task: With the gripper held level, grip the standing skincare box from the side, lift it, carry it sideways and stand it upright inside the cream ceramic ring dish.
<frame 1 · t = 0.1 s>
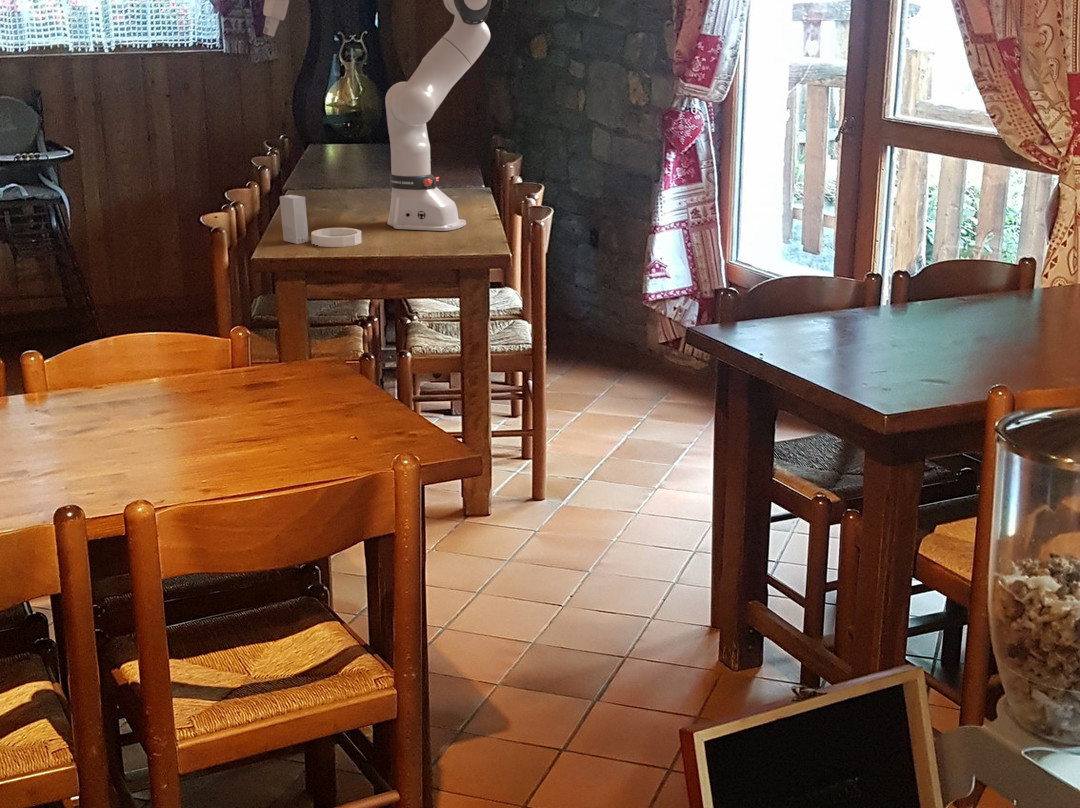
hand: (268, 35, 325), 52 cm above the table, tool tilted 20°, fingers open, 8 cm apart
ring dish: (336, 242, 327), on the table
skincare box: (295, 242, 327), on the table
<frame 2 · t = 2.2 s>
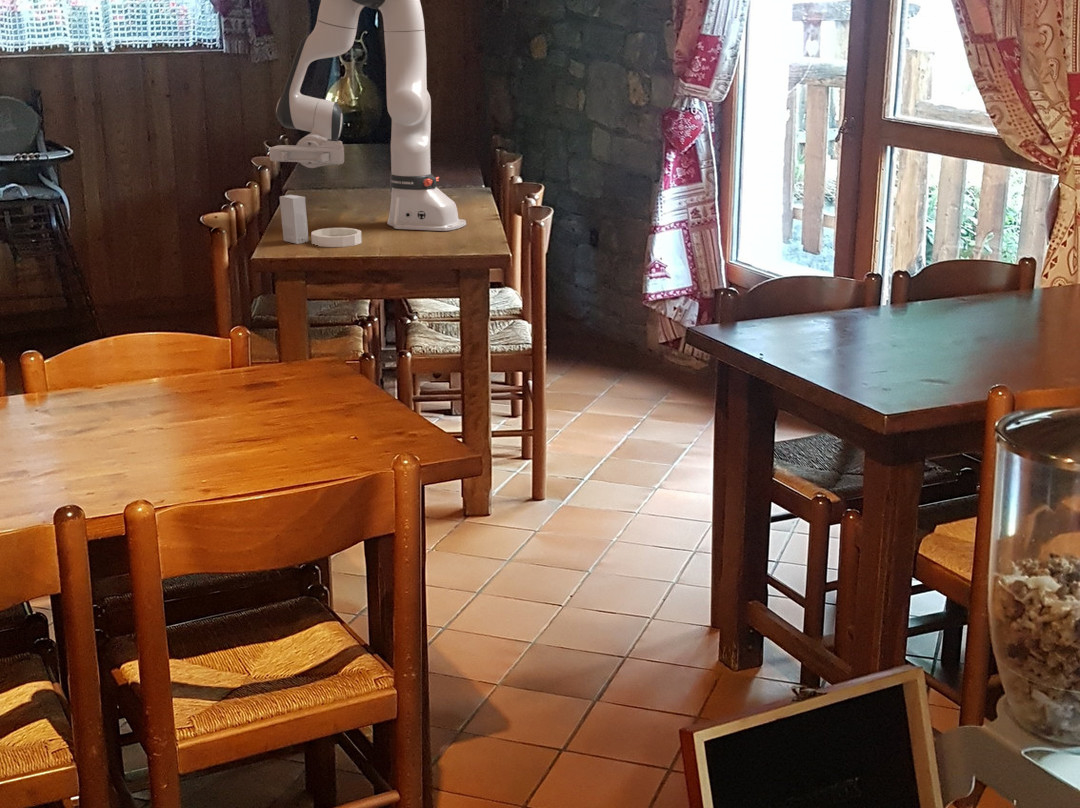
hand: (302, 158, 331), 20 cm above the table, tool horizontal, fingers open, 8 cm apart
nothing on the table moved.
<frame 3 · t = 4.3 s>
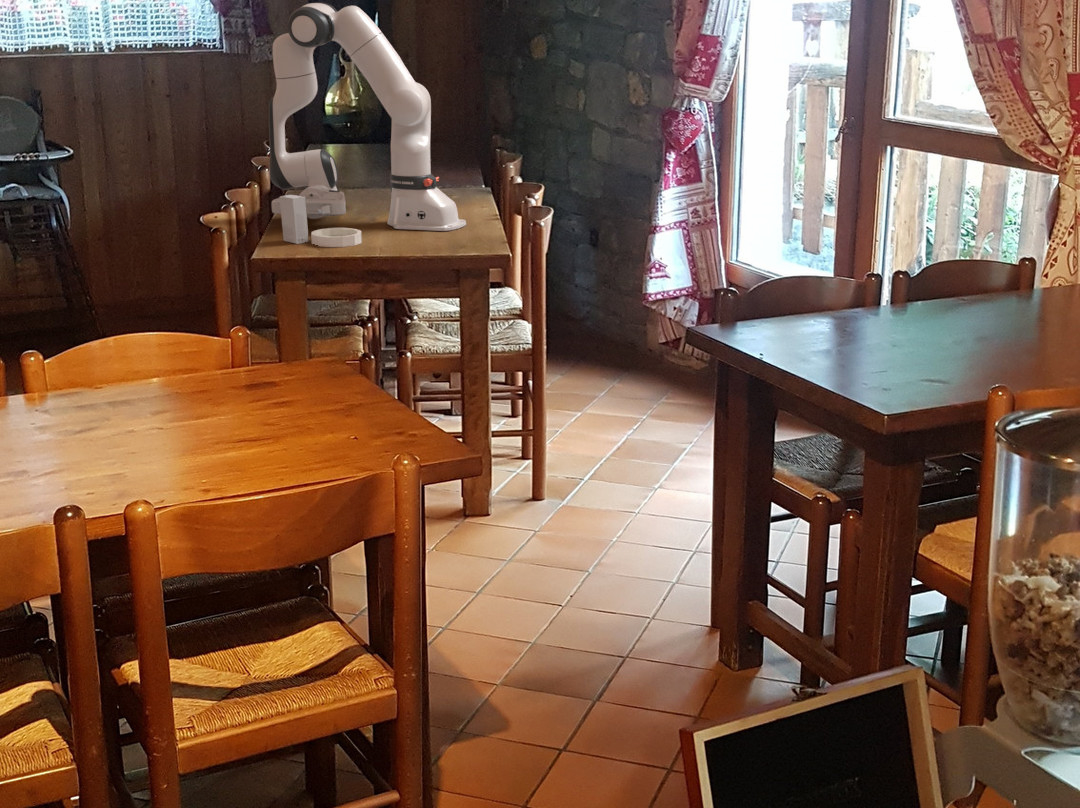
hand: (303, 211, 334), 6 cm above the table, tool horizontal, fingers open, 8 cm apart
nothing on the table moved.
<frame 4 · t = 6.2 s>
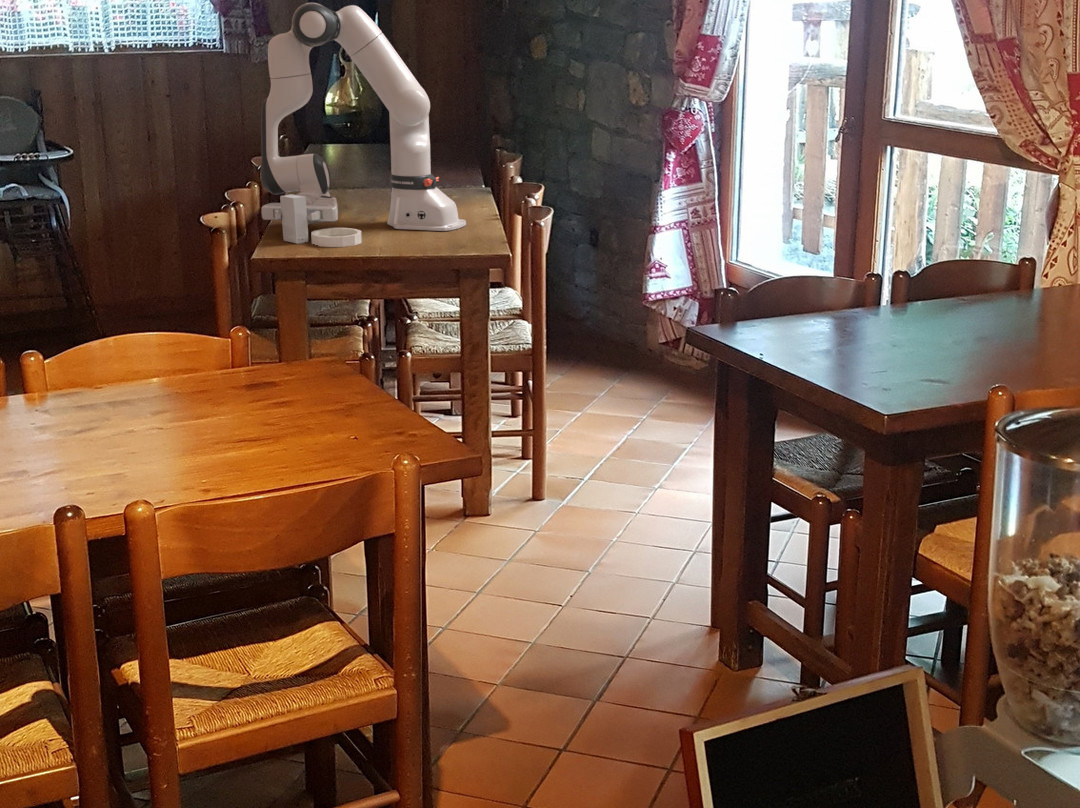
hand: (294, 217, 325), 7 cm above the table, tool horizontal, fingers open, 7 cm apart
skincare box: (295, 242, 327), on the table, touching gripper
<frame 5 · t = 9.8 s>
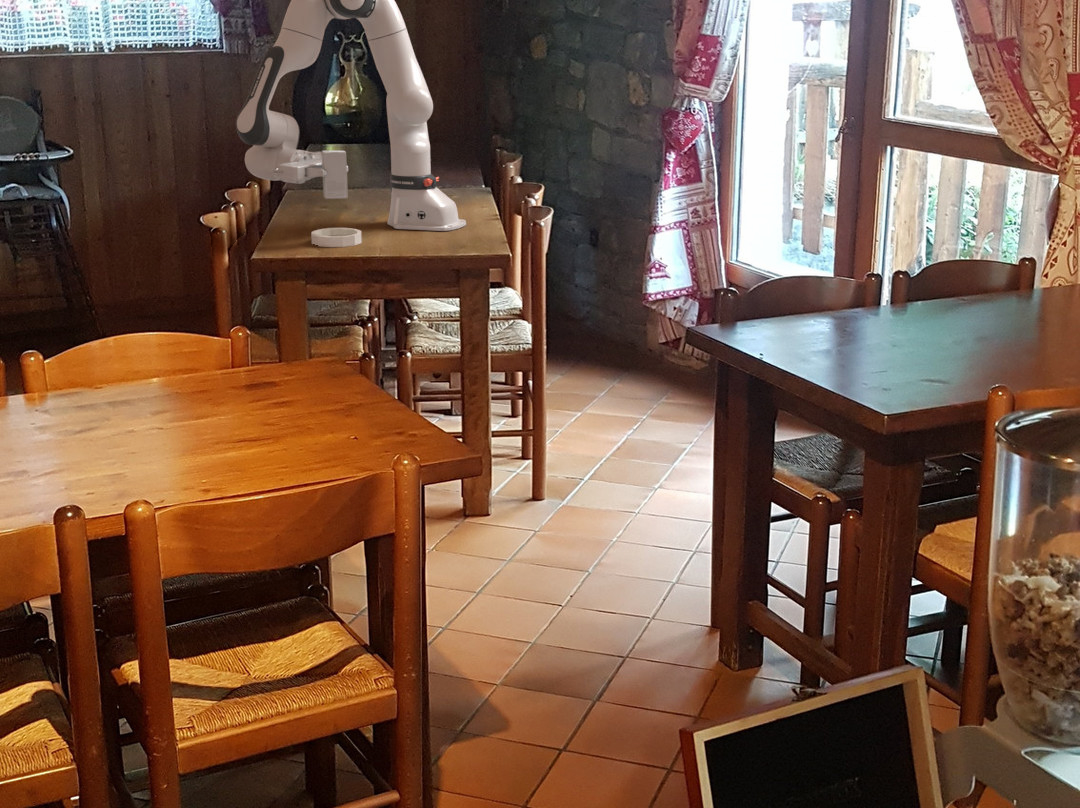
hand: (335, 171, 321), 19 cm above the table, tool horizontal, fingers closed on skincare box, 7 cm apart
skincare box: (335, 198, 323), point 12 cm above the table, touching gripper
when the fingers open (9 cm above the table, at t = 12.2 s): skincare box stays where it is, resting on ring dish.
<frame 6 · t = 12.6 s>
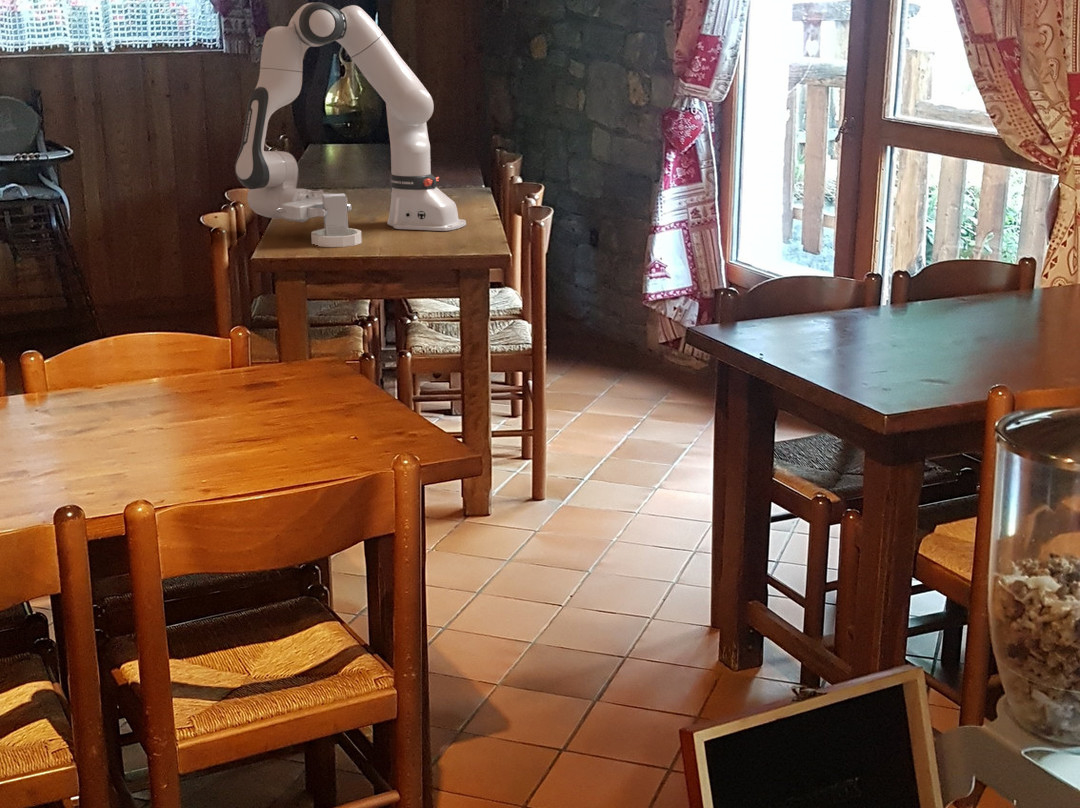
hand: (337, 210, 324), 9 cm above the table, tool horizontal, fingers open, 8 cm apart
skincare box: (336, 241, 326), resting on ring dish, touching gripper
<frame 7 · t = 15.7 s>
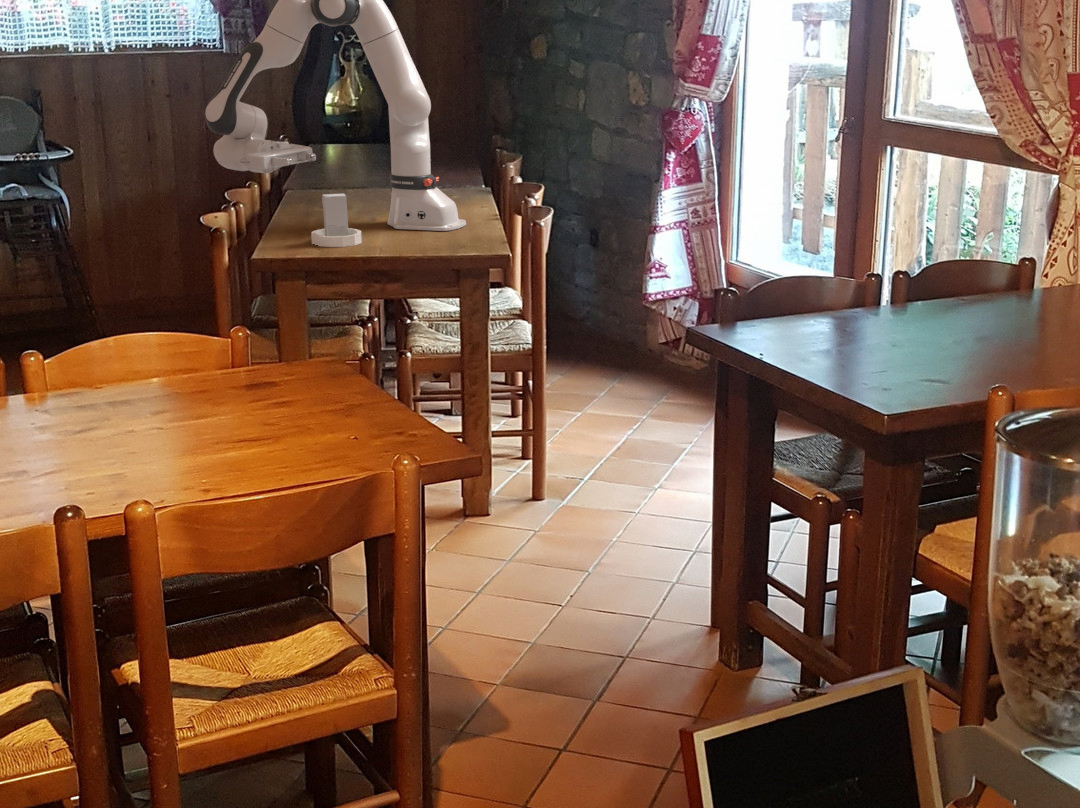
hand: (302, 159, 326), 21 cm above the table, tool horizontal, fingers open, 8 cm apart
skincare box: (336, 241, 326), resting on ring dish
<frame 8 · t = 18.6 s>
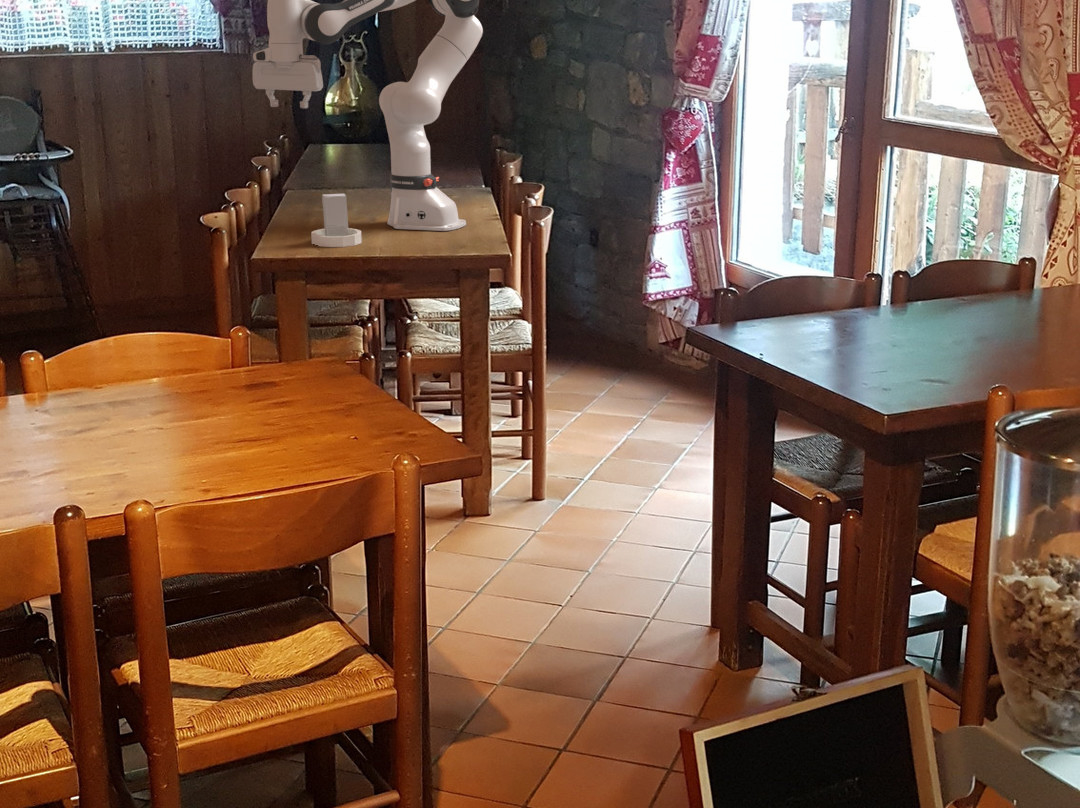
hand: (289, 107, 334), 33 cm above the table, tool pointing down, fingers open, 8 cm apart
nothing on the table moved.
at the end: skincare box 0.7 cm off-centre on the ring dish, point 0.4 cm above the ring dish's base; skincare box tilted 0°; the gripper is holding nothing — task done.
